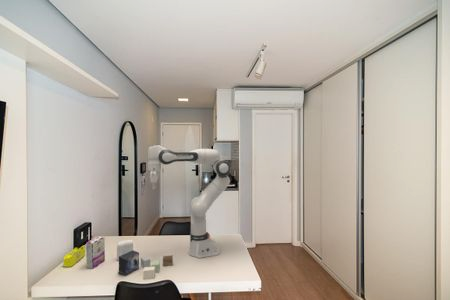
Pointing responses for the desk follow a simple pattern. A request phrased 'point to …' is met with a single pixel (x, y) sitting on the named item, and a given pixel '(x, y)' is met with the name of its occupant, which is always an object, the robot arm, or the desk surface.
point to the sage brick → (156, 265)
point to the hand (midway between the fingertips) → (154, 187)
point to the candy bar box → (95, 252)
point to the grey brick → (145, 261)
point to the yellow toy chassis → (73, 256)
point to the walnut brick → (168, 260)
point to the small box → (128, 263)
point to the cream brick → (149, 272)
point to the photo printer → (124, 247)
